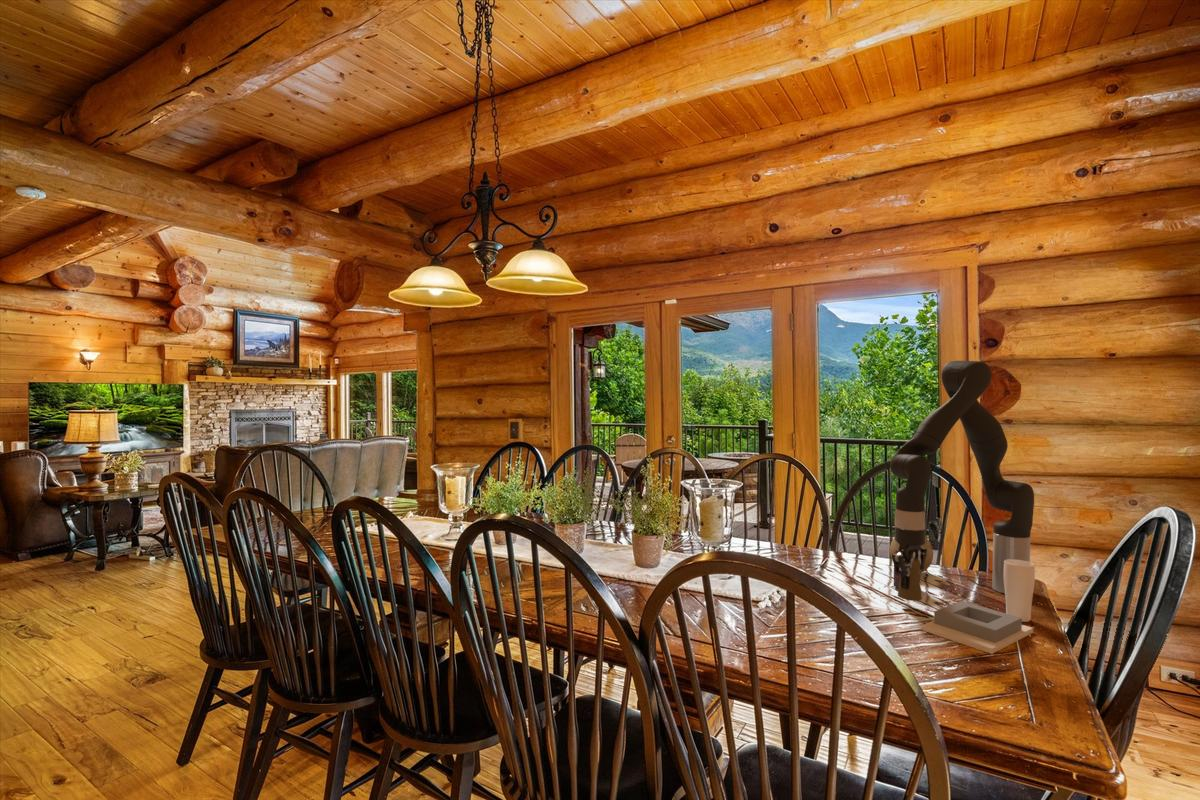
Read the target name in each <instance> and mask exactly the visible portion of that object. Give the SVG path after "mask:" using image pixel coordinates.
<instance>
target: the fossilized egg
mask: <svg viewBox="0 0 1200 800" xmlns="http://www.w3.org/2000/svg"><path fill="white" fill-rule="evenodd" d="M929 540H930V539H928V537H927V536H926V535H925V544H924V545H921V548H926V549H927V553H926V558H925V564H924V569H923V570H922V569H921V570H920V574H921V573H924V572H925V571H927V570H928V569H929V568H930V566H931V565H932V562H933V560H934V550H933V546H932V544H931V542H930V541H929ZM896 548H899V543H898V542H896V541H895V536H894V537H893V539H892V540H891V543H890V547H889V555H890V558H891V560H892V562H893V558H892V555H893V554H895V552H896ZM920 556H921V555H920Z"/></svg>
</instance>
